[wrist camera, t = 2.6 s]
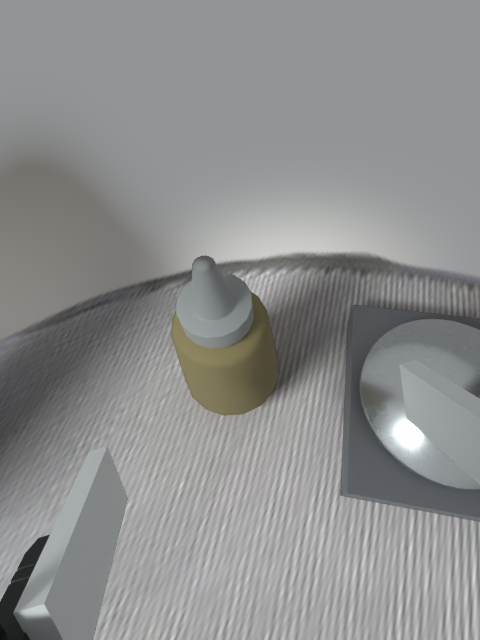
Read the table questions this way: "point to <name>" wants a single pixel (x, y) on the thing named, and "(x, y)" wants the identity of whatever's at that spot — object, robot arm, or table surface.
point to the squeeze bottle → (224, 341)
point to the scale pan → (388, 401)
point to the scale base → (363, 448)
